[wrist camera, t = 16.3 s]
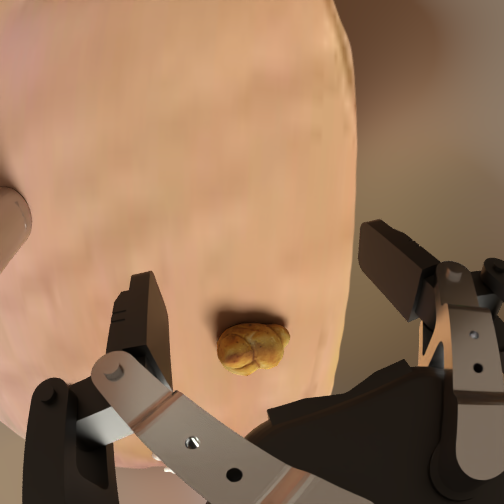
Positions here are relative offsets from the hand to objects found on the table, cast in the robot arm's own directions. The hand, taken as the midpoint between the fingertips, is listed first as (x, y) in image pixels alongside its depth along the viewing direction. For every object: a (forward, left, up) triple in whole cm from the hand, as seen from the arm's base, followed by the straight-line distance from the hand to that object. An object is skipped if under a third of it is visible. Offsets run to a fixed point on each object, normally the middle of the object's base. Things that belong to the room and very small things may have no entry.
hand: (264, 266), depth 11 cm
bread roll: (+1, -33, -28) cm, 43 cm away
